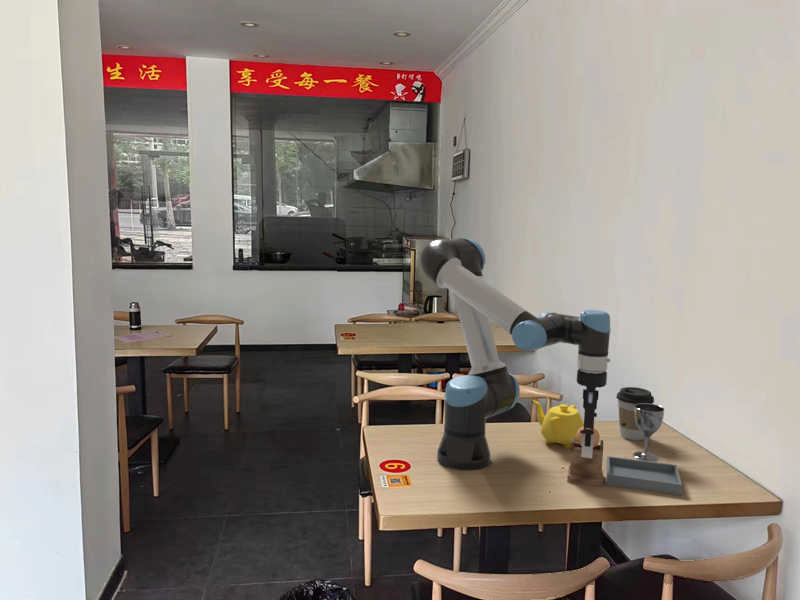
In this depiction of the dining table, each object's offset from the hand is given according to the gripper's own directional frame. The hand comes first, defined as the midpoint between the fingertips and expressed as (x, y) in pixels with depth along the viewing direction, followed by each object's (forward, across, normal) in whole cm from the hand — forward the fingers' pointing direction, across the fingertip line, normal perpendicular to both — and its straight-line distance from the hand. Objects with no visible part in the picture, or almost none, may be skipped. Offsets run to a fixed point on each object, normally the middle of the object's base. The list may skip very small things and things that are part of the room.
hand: (587, 448), depth 166 cm
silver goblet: (+9, +22, -16) cm, 29 cm away
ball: (0, 0, 0) cm, 0 cm away
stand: (+8, 0, 0) cm, 8 cm away
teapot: (+9, +26, +10) cm, 29 cm away
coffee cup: (+9, +38, -14) cm, 41 cm away
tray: (+8, +4, -14) cm, 17 cm away
